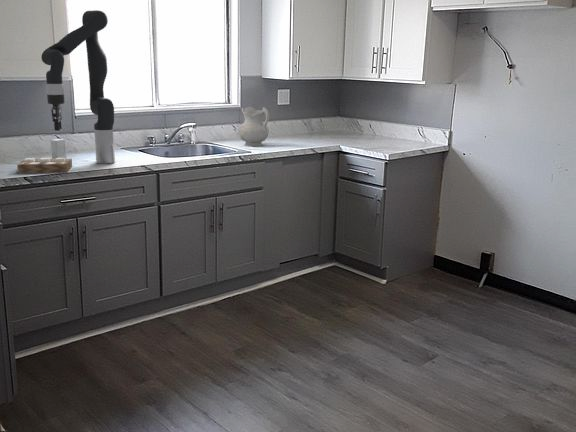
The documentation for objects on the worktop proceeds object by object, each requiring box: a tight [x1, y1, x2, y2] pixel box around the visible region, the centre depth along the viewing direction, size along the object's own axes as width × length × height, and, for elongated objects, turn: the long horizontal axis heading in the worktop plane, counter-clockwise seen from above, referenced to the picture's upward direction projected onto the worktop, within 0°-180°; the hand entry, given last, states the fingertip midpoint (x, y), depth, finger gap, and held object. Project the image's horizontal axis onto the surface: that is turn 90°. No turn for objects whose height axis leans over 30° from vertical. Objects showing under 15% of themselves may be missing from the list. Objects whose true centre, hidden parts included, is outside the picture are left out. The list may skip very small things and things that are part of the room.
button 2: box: [55, 158, 67, 162], centre depth 295 cm, size 4×4×2 cm
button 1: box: [23, 157, 36, 162], centre depth 293 cm, size 4×4×2 cm
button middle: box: [39, 157, 51, 162], centre depth 294 cm, size 4×4×2 cm
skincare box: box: [50, 138, 67, 159], centre depth 313 cm, size 6×4×12 cm
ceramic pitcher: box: [237, 105, 270, 147], centre depth 388 cm, size 22×20×25 cm
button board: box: [16, 158, 73, 174], centre depth 294 cm, size 22×16×4 cm
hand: (58, 129), depth 291 cm, fingers open, 4 cm apart
